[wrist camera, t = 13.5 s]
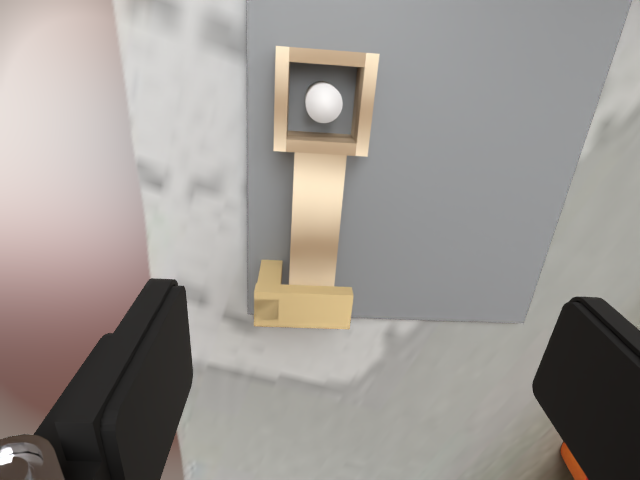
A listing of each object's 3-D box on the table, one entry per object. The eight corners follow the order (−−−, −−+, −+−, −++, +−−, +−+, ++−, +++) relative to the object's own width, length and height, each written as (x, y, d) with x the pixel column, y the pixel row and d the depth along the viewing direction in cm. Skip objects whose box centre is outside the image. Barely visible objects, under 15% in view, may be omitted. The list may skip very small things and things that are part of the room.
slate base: (649, -91, 22) (767, -140, 17) (517, 316, 33) (561, 368, 28) (248, -135, 21) (229, -206, 15) (249, 306, 32) (238, 360, 26)
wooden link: (278, 46, 23) (275, 45, 21) (370, 54, 24) (379, 53, 21) (272, 293, 30) (269, 316, 28) (343, 295, 31) (348, 319, 28)
